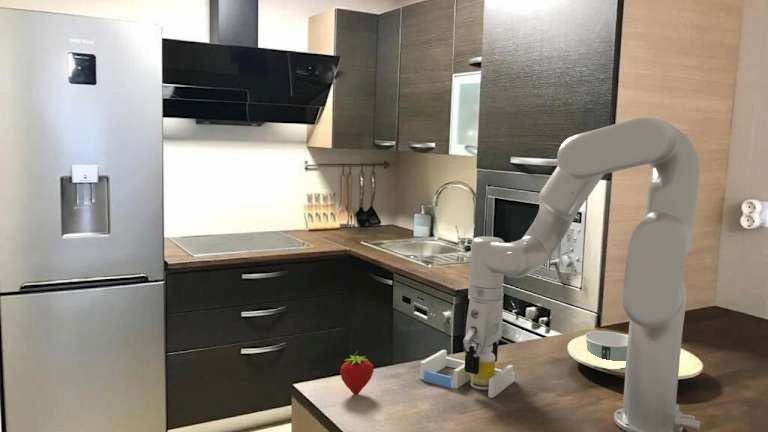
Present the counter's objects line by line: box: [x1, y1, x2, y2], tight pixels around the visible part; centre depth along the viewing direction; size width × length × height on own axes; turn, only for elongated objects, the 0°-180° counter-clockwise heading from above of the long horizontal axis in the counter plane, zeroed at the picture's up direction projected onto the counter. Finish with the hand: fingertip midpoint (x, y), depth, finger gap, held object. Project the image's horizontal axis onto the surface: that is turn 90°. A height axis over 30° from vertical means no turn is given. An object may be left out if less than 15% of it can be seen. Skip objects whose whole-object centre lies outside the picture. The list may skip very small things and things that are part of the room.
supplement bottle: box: [469, 344, 496, 391], centre depth 145 cm, size 5×5×10 cm
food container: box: [583, 330, 628, 361], centre depth 162 cm, size 12×12×6 cm
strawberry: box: [339, 350, 375, 395], centre depth 139 cm, size 6×8×10 cm
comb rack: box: [419, 349, 516, 399], centre depth 148 cm, size 18×13×4 cm
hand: (481, 366), depth 145 cm, fingers open, 9 cm apart
